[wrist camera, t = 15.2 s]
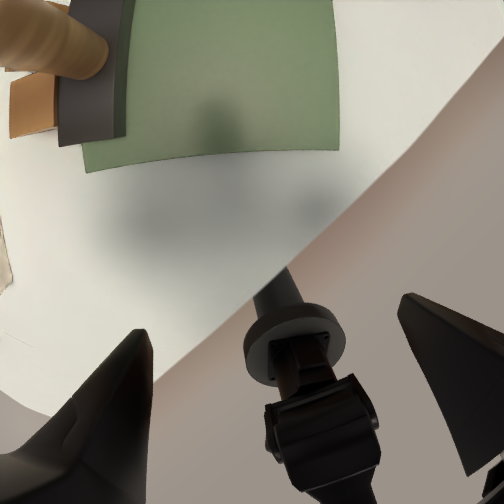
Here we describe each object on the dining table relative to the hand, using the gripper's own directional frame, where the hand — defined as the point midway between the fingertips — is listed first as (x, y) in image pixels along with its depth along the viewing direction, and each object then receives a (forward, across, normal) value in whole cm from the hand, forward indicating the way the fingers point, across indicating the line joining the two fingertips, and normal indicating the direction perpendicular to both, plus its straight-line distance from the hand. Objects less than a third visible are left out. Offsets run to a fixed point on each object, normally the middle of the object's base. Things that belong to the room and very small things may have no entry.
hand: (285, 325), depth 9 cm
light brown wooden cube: (+13, +13, -10) cm, 21 cm away
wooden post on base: (+12, +9, -12) cm, 19 cm away
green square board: (+13, +2, -12) cm, 18 cm away
